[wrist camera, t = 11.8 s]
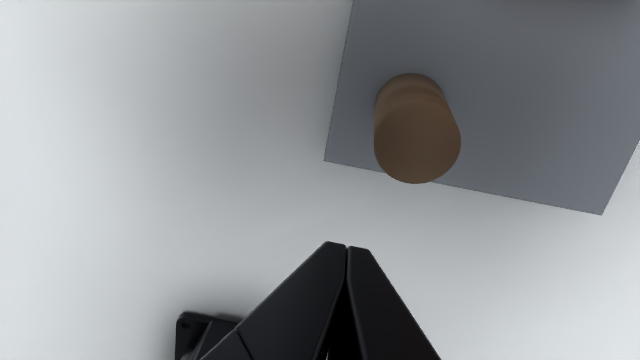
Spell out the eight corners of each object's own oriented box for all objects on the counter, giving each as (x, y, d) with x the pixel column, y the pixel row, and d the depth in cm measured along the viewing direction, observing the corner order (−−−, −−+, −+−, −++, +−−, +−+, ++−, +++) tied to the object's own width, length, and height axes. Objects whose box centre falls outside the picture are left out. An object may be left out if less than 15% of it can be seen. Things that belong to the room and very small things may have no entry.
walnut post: (434, 146, 20) (447, 190, 16) (367, 133, 20) (365, 174, 16) (454, 80, 18) (472, 112, 15) (383, 66, 19) (383, 95, 15)
